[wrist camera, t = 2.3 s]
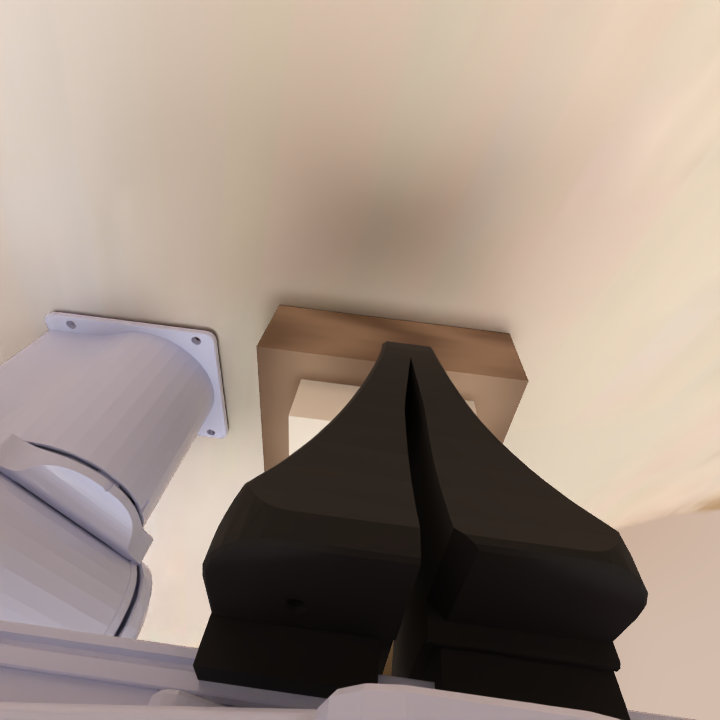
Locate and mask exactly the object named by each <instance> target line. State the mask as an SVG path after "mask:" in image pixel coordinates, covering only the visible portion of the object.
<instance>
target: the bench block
mask: <svg viewBox="0 0 720 720" xmlns="http://www.w3.org/2000/svg"><path fill="white" fill-rule="evenodd" d="M386 341H390V342H398V343H406V344H414V345H422V346H430V347H431V348H432V349H433V351H434V352H435V354H436V356H437V358H438V360H439V361H440V363H441V365H442V367H443V368H444V370H445V372H446V373H447V375H448V376H449V378H450V380H451V381H452V383H453V384H454V386H455V387H456V389H457V390H458V391H459V393H460V394H461V396H462V397H463V399H464V400H468V401H474V404H475V408H476V413H477V417H478V418H479V419H480V421H481V422H482V423H483V424H484V425H485V426H486V427H487V428H488V429H489V430H490V431H491V433H492V434H493V435H494V436H495V437H496V438H497V439H498V440H499V441H500V442H501V443H502V444H503V441H504V439H505V436H506V434H507V432H508V429H509V427H510V424H511V422H512V419H513V417H514V415H515V412H516V410H517V407H518V405H519V403H520V400H521V398H522V395H523V393H524V390H525V388H526V386H527V383H528V379H527V376H526V374H525V371H524V369H523V366H522V364H521V361H520V359H519V356H518V354H517V351H516V349H515V346H514V344H513V341H512V339H511V336H510V334H507V333H499V332H491V331H483V330H475V329H467V328H459V327H451V326H443V325H435V324H427V323H419V322H411V321H403V320H395V319H387V318H379V317H371V316H363V315H355V314H347V313H339V312H331V311H322V310H314V309H306V308H298V307H290V306H282V305H279V307H278V308H277V310H276V312H275V314H274V316H273V318H272V319H271V321H270V323H269V325H268V327H267V329H266V330H265V332H264V334H263V336H262V338H261V340H260V341H259V343H258V345H257V360H258V376H259V392H260V407H261V423H262V439H263V455H264V471H265V472H266V471H267V470H269V469H270V468H272V467H274V466H275V465H277V464H279V463H280V462H281V461H283V460H284V459H286V458H287V457H288V456H289V413H290V410H291V407H292V404H293V401H294V398H295V395H296V393H297V390H298V387H299V384H300V381H301V379H305V380H312V381H320V382H328V383H336V384H344V385H351V386H359V387H361V385H362V384H363V382H364V381H365V379H366V378H367V376H368V375H369V373H370V371H371V370H372V368H373V366H374V365H375V363H376V361H377V359H378V357H379V354H380V352H381V349H382V344H383V343H385V342H386Z"/></svg>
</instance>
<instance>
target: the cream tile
mask: <svg viewBox="0 0 720 720" xmlns="http://www.w3.org/2000/svg"><path fill="white" fill-rule="evenodd" d="M359 388H360V387H359V386H351V385H344V384H336V383H328V382H320V381H312V380H305V379H301V381H300V384H299V387H298V390H297V393H296V395H295V398H294V401H293V404H292V407H291V410H290V413H289V456H290V455H291V454H292V453H294V452H295V451H296V450H298V449H299V448H300V447H302V446H303V445H304V444H306V443H307V442H308V441H310V440H311V439H312V438H313V437H314V436H316V435H317V434H318V433H319V432H320V431H321V430H322V429H323V428H324V427H325V426H326V425H327V424H329V423H330V422H331V421H332V420H333V419H334V418H335V417H336V416H337V414H338V413H339V412H340V411H341V410H342V409H343V408H344V407H345V406H346V405H347V403H348V402H349V401H350V400H351V399H352V397H353V396H354V395H355V393H356V392H357V391H358V389H359ZM465 401H466V403H467V404H468V406H469V407H470V408H471V409H472V411H473V412H474V413H475V414H476V416H477V413H476V408H475V404H474V401H468V400H465Z"/></svg>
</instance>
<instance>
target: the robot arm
mask: <svg viewBox="0 0 720 720" xmlns="http://www.w3.org/2000/svg"><path fill="white" fill-rule="evenodd" d="M45 322H46V325H47V327H48V330H49V331H48V332H46V333H45V334H43V335H42V336H41V337H39V338H38V339H36V340H35V341H34V342H32V343H31V344H29V345H28V346H27V347H25V348H24V349H23V350H21V351H20V352H18V353H17V354H16V355H14V356H13V357H11V358H10V359H9V360H7V361H6V362H4V363H3V364H2V365H0V720H694V719H687V718H680V717H673V716H666V715H660V714H653V713H646V712H638V711H631V710H627V708H626V705H625V702H624V699H623V697H622V694H621V691H620V688H619V685H618V682H617V679H616V677H615V674H614V671H616V672H617V671H618V670H619V669H620V660H619V658H618V655H617V652H616V649H615V646H614V644H613V641H614V640H615V639H616V638H617V637H618V636H619V635H620V634H621V633H622V632H623V631H624V630H625V629H626V628H627V627H628V626H629V625H630V624H631V623H632V622H633V621H635V620H636V618H637V617H638V616H639V615H640V613H641V612H642V610H643V609H644V607H645V606H646V604H647V597H648V592H647V590H646V588H645V586H644V584H643V581H642V579H641V577H640V574H639V572H638V570H637V567H636V565H635V563H634V561H633V558H632V556H631V554H630V552H629V550H628V549H627V547H626V545H625V543H624V541H623V539H622V538H621V536H620V534H619V532H617V531H616V530H615V529H613V528H612V527H610V526H609V525H607V524H606V523H604V522H603V521H601V520H599V519H598V518H596V517H595V516H593V515H592V514H590V513H589V512H587V511H586V510H584V509H583V508H581V507H580V506H578V505H577V504H575V503H574V502H572V501H571V500H569V499H568V498H567V497H565V496H564V495H563V494H561V493H560V492H559V491H557V490H556V489H555V488H553V487H552V486H551V485H549V484H548V483H547V482H545V481H544V480H543V479H542V478H540V477H539V476H538V475H537V474H536V473H534V472H533V471H532V470H531V469H529V468H528V467H527V466H526V465H525V464H524V463H523V462H522V461H520V460H519V459H518V458H517V457H516V456H515V455H514V454H513V453H511V452H510V451H509V450H508V449H507V448H506V447H505V446H504V445H503V444H502V443H501V442H500V441H499V440H498V439H497V438H496V437H495V436H494V435H493V434H492V433H491V431H490V430H489V429H488V428H487V427H486V426H485V425H484V424H483V423H482V422H481V421H480V419H479V418H478V417H477V416H476V414H475V413H474V412H473V411H472V409H471V408H470V407H469V406H468V404H467V403H466V401H465V400H464V399H463V397H462V396H461V394H460V393H459V391H458V390H457V389H456V387H455V386H454V384H453V383H452V381H451V380H450V378H449V376H448V375H447V373H446V372H445V370H444V368H443V367H442V365H441V363H440V361H439V360H438V358H437V356H436V354H435V352H434V351H433V349H432V348H431V347H430V346H422V345H414V344H406V343H398V342H390V341H386V342H385V343H383V344H382V349H381V352H380V354H379V357H378V359H377V361H376V363H375V365H374V366H373V368H372V370H371V371H370V373H369V375H368V376H367V378H366V379H365V381H364V382H363V384H362V385H361V387H360V388H359V389H358V391H357V392H356V393H355V395H354V396H353V397H352V399H351V400H350V401H349V402H348V403H347V405H346V406H345V407H344V408H343V409H342V410H341V411H340V412H339V413H338V414H337V416H336V417H335V418H334V419H333V420H332V421H331V422H330V423H329V424H327V425H326V426H325V427H324V428H323V429H322V430H321V431H320V432H319V433H318V434H317V435H316V436H314V437H313V438H312V439H311V440H310V441H308V442H307V443H306V444H304V445H303V446H302V447H300V448H299V449H298V450H296V451H295V452H294V453H292V454H291V455H290V456H288V457H287V458H286V459H284V460H283V461H281V462H280V463H279V464H277V465H275V466H274V467H272V468H270V469H269V470H267V471H266V472H264V473H262V474H261V475H259V476H257V477H256V478H254V479H252V480H251V481H249V482H247V483H246V484H245V485H244V486H243V487H242V489H241V490H240V492H239V493H238V495H237V496H236V498H235V499H234V501H233V502H232V504H231V505H230V507H229V509H228V510H227V512H226V514H225V516H224V517H223V519H222V521H221V523H220V524H219V526H218V529H217V531H216V533H215V535H214V538H213V540H212V542H211V545H210V547H209V550H208V552H207V555H206V557H205V560H204V562H203V579H204V583H205V587H206V591H207V595H208V599H209V603H210V607H211V611H212V613H211V616H210V618H209V621H208V624H207V627H206V629H205V632H204V635H203V638H202V641H201V643H200V646H199V648H192V647H185V646H178V645H171V644H164V643H157V642H150V641H143V640H136V639H137V637H138V635H139V633H140V631H141V628H142V626H143V623H144V620H145V618H146V614H147V611H148V606H149V601H150V597H151V591H152V575H151V572H150V570H149V568H148V567H147V566H146V565H145V564H144V563H143V562H142V560H143V558H144V556H145V554H146V552H147V550H148V549H149V547H150V545H151V543H152V541H153V538H152V537H151V536H150V535H149V534H148V533H147V532H146V531H145V530H144V529H143V527H144V525H145V524H146V522H147V520H148V518H149V517H150V515H151V513H152V511H153V510H154V508H155V506H156V505H157V503H158V501H159V499H160V498H161V496H162V494H163V492H164V491H165V489H166V487H167V486H168V484H169V482H170V480H171V479H172V477H173V475H174V473H175V472H176V470H177V468H178V467H179V465H180V463H181V461H182V460H183V458H184V456H185V454H186V453H187V451H188V449H189V447H190V446H191V444H192V442H193V441H194V439H195V437H196V435H199V436H206V437H214V438H224V437H226V435H227V433H228V425H227V417H226V409H225V402H224V394H223V386H222V378H221V370H220V363H219V355H218V347H217V339H216V337H215V335H214V334H213V333H211V332H209V331H204V330H196V329H188V328H180V327H172V326H165V325H157V324H149V323H141V322H133V321H125V320H117V319H109V318H101V317H93V316H85V315H78V314H70V313H62V312H50V313H49V314H47V315H46V316H45ZM72 322H73V323H75V324H73V323H72ZM195 337H198V338H199V339H200V340H201V341H198V340H197V339H195ZM393 640H394V645H393V660H392V675H391V676H388V675H382V673H383V670H384V667H385V664H386V661H387V658H388V654H389V652H390V648H391V645H392V642H393Z"/></svg>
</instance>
